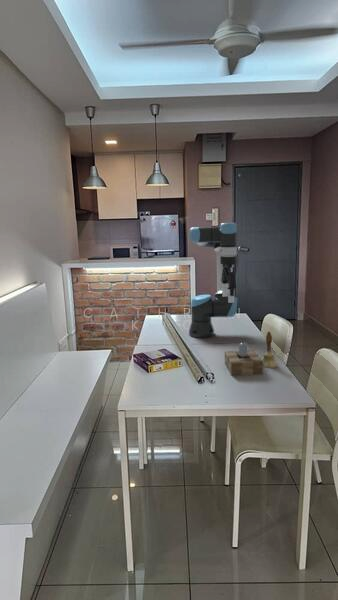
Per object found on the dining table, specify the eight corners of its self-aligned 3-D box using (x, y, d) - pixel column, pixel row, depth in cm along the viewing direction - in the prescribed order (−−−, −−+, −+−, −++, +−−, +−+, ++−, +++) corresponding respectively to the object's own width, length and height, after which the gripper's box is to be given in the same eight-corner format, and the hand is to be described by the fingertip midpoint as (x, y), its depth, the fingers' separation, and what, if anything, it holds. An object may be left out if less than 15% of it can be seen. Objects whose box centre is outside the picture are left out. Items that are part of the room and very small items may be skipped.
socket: (224, 363, 174) (224, 351, 173) (253, 361, 175) (253, 350, 174) (231, 375, 161) (231, 363, 159) (262, 374, 161) (263, 361, 160)
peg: (238, 367, 170) (238, 342, 167) (245, 366, 170) (246, 342, 167) (239, 370, 166) (240, 345, 164) (247, 369, 166) (248, 344, 164)
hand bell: (265, 369, 167) (266, 335, 163) (256, 362, 174) (257, 330, 171) (281, 366, 169) (282, 333, 165) (271, 360, 177) (272, 328, 173)
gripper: (215, 253, 186) (215, 294, 191) (226, 259, 162) (226, 305, 166) (230, 253, 187) (229, 293, 191) (243, 258, 162) (242, 304, 167)
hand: (228, 299), depth 179 cm, fingers open, 13 cm apart
